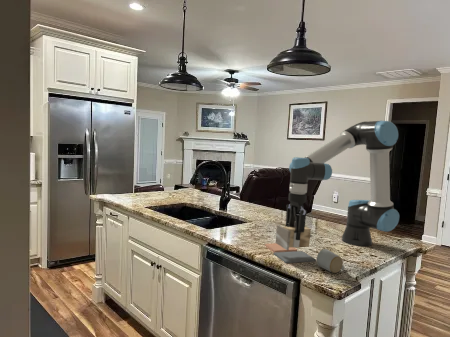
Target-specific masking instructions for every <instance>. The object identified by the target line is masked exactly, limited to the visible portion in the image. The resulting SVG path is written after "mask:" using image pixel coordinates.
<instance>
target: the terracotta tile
mask: <svg viewBox="0 0 450 337" xmlns="http://www.w3.org/2000/svg"><path fill="white" fill-rule="evenodd" d="M265 246H266V247H265ZM264 247H265V248H267V249H268V250H269V251H271V252H272V251H273V252H272V253H275V252H293V251H298V249H297V247H289V250H286V249H284V248H283V247H281V246H280V245H278V244H277V243H273V242H272V243H264Z"/></svg>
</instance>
